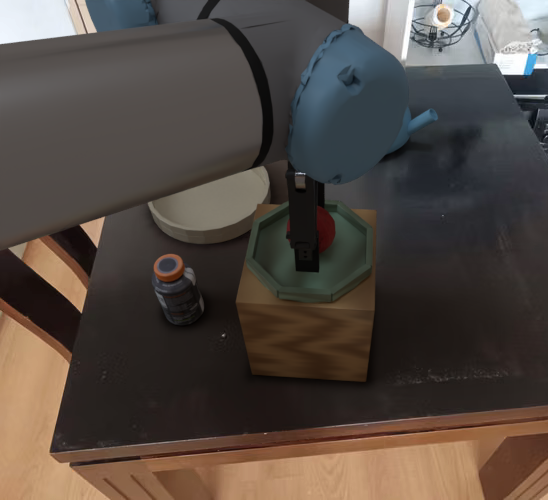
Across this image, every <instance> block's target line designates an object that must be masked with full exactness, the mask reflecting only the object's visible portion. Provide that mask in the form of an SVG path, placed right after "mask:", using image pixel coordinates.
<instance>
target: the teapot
mask: <svg viewBox="0 0 548 500" xmlns="http://www.w3.org/2000/svg"><path fill="white" fill-rule="evenodd" d="M438 120H439V116H438V113H437V112H436V110H435V109H434V108H431V107H430V108H428V109H427V110H426V111H424V112H422V113H421V114H419V115H417V116H416V117H414V118H412V114H411V111H410V107H409V105H408V106H407V109H406V111H405V114H404V118H403V125H402V127H401V130H400V132H399V134H398V136H397V138H396V139H395V141H394V143H393V144H392V146H391V147H390V149H389V150H388V152H387V153H386V154H385V155H384V156H386V155H389V154H392V153H394V152H396V151H398V150H399V149H400V148H402V147H403V146H404V145H405V144H406V143H407V142H408V141H409V139H410V137H411V135H413V134H415V133H416V132H419V131H420V130H422V129H423V128H425V127H428V126H429V125H431V124H433V123H434V122H436V121H438Z"/></svg>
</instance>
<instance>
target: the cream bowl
mask: <svg viewBox="0 0 548 500" xmlns="http://www.w3.org/2000/svg"><path fill="white" fill-rule="evenodd" d="M271 192H272V191H271V185H270V178H269V172H268V171H267V169H266V167H265V166H261V167H258V168H254V169H250V170H247V171H244V172H240V173H237V174H234V175H231V176H228V177H225V178H222V179H219V180H216V181H213V182H210V183H206V184H203V185H200V186H197V187H194V188H191V189H188V190H185V191H182V192H179V193H176V194H173V195H170V196H167V197H164V198H161V199H157V200H154V201H151V202H148V203H147V206H148V208H149V211H150V213H151V217H152V218H153V221H154V223H155V224H156V226H157V227H158V228H159V229H160V230H161V232H164V234H166V235H167V236H169V237H171V238H172V239H175V240H176V241H177V240H178V241H180V242H184V243H189V244H195V245H209V244H219V243H223V242H226V241H231V240H233V239H236V238H239V237H240V236H242V235H244V234H246V233H247V232H249V231H251V230H252V226H253V221H254V216H255V212H256V207H257V204H271V199H272V194H271Z"/></svg>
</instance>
